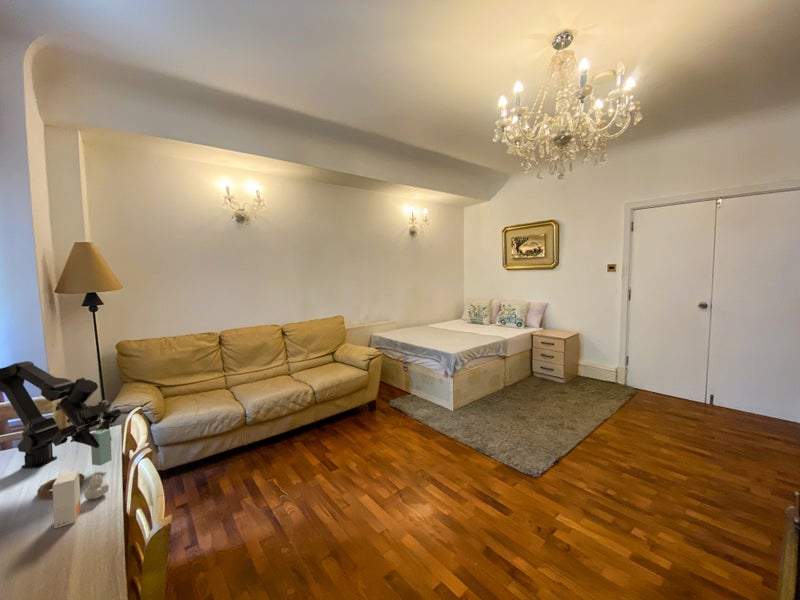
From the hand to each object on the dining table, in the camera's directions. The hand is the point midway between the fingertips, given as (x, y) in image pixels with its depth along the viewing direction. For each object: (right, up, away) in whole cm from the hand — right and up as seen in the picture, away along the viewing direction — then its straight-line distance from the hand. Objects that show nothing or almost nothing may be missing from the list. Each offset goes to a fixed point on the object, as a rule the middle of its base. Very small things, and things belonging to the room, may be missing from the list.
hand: (104, 444), depth 113 cm
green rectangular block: (-1, -7, +1) cm, 7 cm away
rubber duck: (+10, -11, -14) cm, 20 cm away
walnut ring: (-5, -10, -9) cm, 15 cm away
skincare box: (+11, -11, -23) cm, 27 cm away
